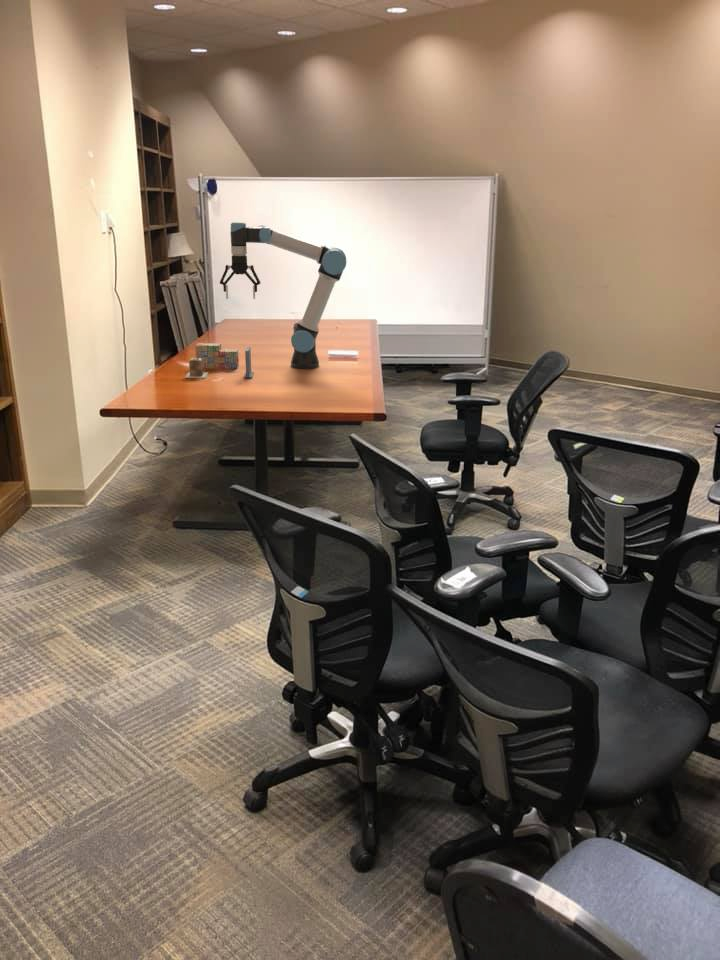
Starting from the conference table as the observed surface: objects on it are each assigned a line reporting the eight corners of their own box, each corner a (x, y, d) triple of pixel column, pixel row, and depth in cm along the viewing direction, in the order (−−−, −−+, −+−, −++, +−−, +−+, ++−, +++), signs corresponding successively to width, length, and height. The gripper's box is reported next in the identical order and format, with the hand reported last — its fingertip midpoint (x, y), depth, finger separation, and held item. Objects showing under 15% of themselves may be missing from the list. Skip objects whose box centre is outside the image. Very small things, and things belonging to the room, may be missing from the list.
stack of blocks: (239, 366, 407) (238, 343, 403) (237, 369, 401) (236, 345, 397) (199, 365, 408) (197, 342, 403) (196, 368, 402) (195, 345, 397)
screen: (253, 373, 392) (252, 346, 387) (251, 378, 380) (250, 350, 375) (245, 373, 391) (244, 346, 386) (243, 378, 380) (242, 350, 375)
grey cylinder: (203, 373, 387) (202, 357, 384) (202, 376, 381) (201, 359, 379) (191, 373, 387) (190, 357, 384) (189, 376, 381) (188, 359, 378)
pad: (208, 373, 390) (208, 372, 390) (205, 378, 379) (205, 377, 379) (188, 373, 390) (188, 372, 389) (184, 378, 378) (184, 377, 378)
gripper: (264, 254, 383) (265, 297, 390) (214, 254, 381) (216, 297, 389) (263, 255, 376) (265, 299, 383) (212, 255, 374) (214, 299, 382)
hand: (240, 298), depth 386 cm, fingers open, 13 cm apart
